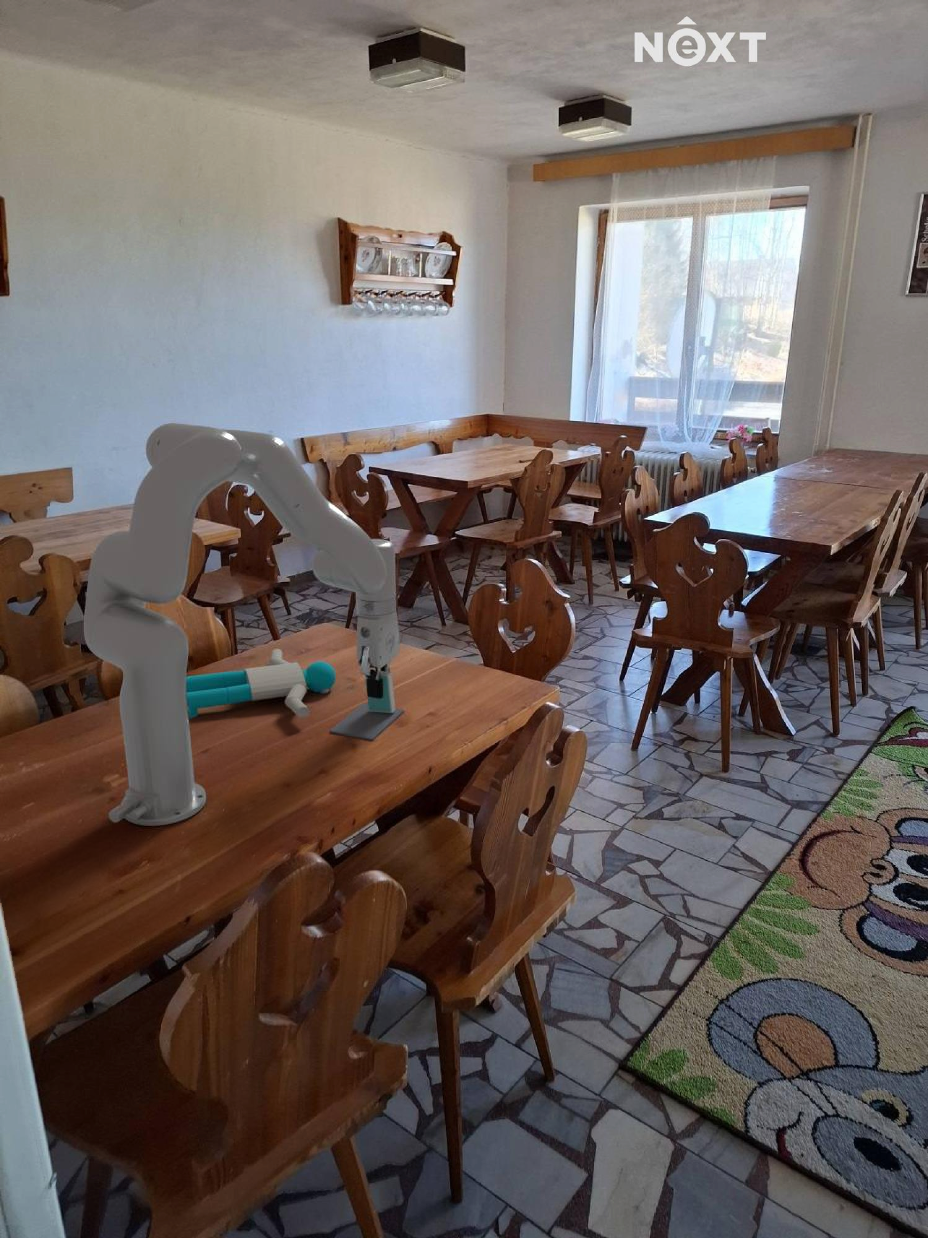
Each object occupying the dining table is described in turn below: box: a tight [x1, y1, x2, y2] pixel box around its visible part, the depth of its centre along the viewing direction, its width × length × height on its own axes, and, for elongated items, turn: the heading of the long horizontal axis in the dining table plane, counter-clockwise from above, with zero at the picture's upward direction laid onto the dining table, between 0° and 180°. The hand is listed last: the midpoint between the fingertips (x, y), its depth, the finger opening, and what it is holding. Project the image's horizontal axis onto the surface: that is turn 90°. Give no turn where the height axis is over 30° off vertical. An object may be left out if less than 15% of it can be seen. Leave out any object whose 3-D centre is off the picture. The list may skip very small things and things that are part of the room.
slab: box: [364, 671, 396, 713], centre depth 166 cm, size 2×5×8 cm, turn 70°
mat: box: [329, 702, 405, 741], centre depth 163 cm, size 14×9×1 cm, turn 160°
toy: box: [186, 648, 337, 719], centre depth 173 cm, size 34×6×30 cm
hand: (378, 693), depth 166 cm, fingers closed on slab, 2 cm apart
